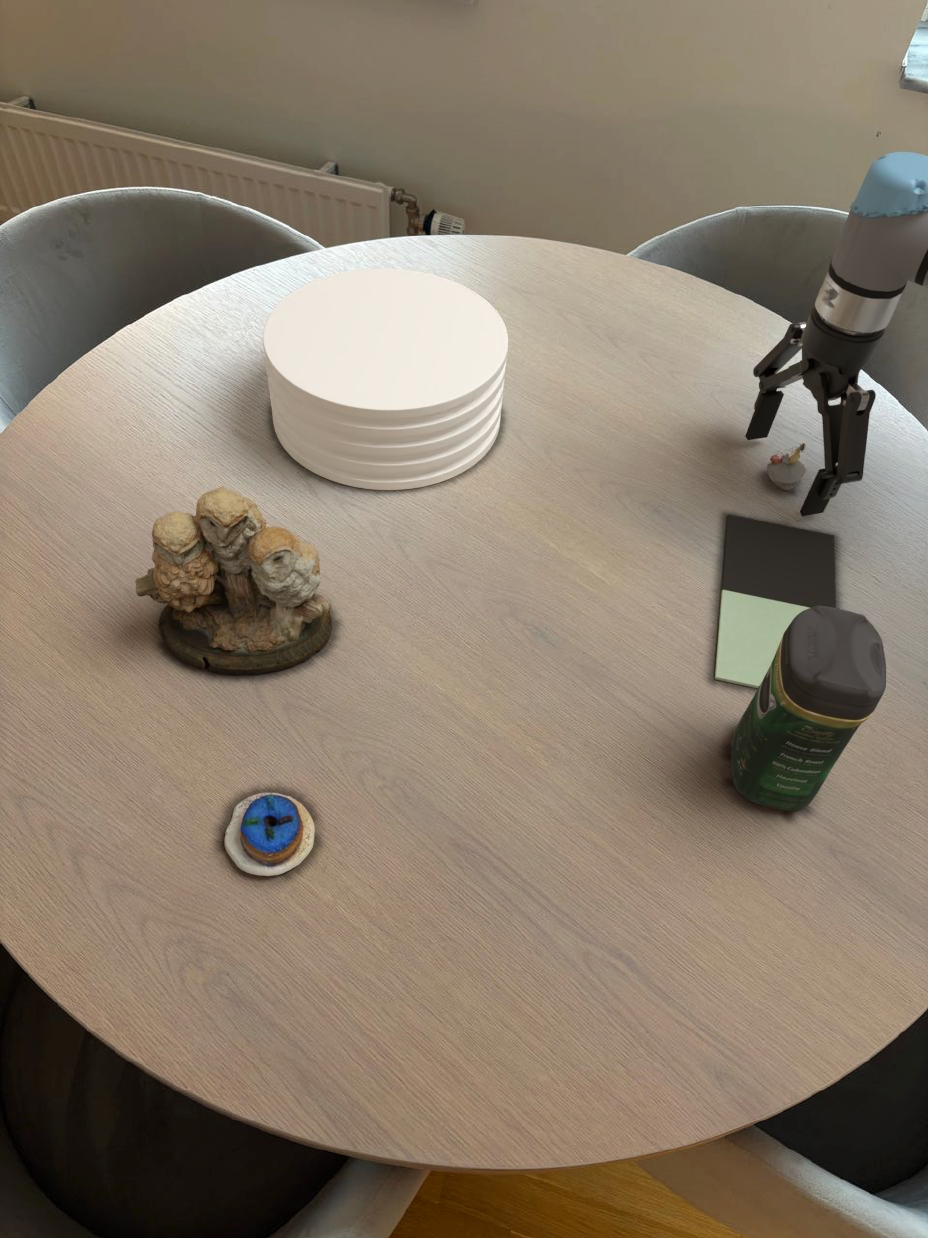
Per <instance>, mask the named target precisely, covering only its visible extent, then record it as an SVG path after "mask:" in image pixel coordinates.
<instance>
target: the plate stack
mask: <svg viewBox="0 0 928 1238" xmlns="http://www.w3.org/2000/svg"><path fill="white" fill-rule="evenodd" d="M262 342H263V343H262V344H263V351H264V357H265V359H264V360H265V367H266V373H267V383H268V390H269V401H270V407H271V414H272V424H273V429H274V432H275V434H276V437H277V439H278V441H279V443H280V444H281V446H282V447H283V449H284V450H285V451H286V452H287V454H288V455H289V456H290V457H291V458H292V459H293V460H295V462H297V463H298V464H299V465H300V466H302V467H304V468H305V469H307V470H309V471H310V472H311V473H313V474H316V475H317V476H320V477H322V478H324V479H327V480H329V481H331V482H335V483H338V484H341V485H345V486H349V487H354V488H359V489H364V490H373V491H374V490H375V491H402V490H411V489H419V488H423V487H429V486H432V485H436V484H439V483H441V482H445V481H448V480H451V479H453V478H455V477H458V476H459V475H461V474H462V473H464V472H466V471H468V470H469V469H471V468H472V467H473V466H475V465H476V464H477V463H478V462H480V461H481V460H482V459H483V458H484V457H485V456H486V455H487V454H488V452H489V451H490V450H491V449H492V447H493V445H494V443H495V442H496V439H497V437H498V434H499V431H500V425H501V418H502V417H501V416H502V407H503V399H504V398H503V396H504V387H505V376H506V369H507V358H508V352H509V351H508V350H509V334H508V329H507V327H506V324H505V322H504V320H503V318H502V316H501V315H500V313H499V312H498V311H497V309H496V308H494V306H493V305H492V304H491V303H490V302H489V301H487V299H485V298H484V297H483V296H481V295H480V294H478V293H477V292H475V291H474V290H473V289H470V288H468V287H467V286H465V285H463V284H461V283H459V282H456V281H453V280H451V279H449V278H446V277H442V276H439V275H436V274H432V273H427V272H422V271H417V270H412V269H411V270H410V269H402V268H391V267H390V268H389V267H388V268H386V267H385V268H383V267H381V268H380V267H378V268H377V267H376V268H362V269H353V270H347V271H341V272H337V273H332V274H329V275H326V276H323V277H319V278H317V279H314V280H311V281H310V282H307V283H305V284H303V285H301V286H299V287H297V288H296V289H294V290H293V291H291V292H290V293H287V295H286V296H284V297H283V298H282V299H281V300H279V302H278V303H277V304H276V305H275V306H274V307H273V309H272V310H271V312H270V313H269V315H268V317H267V318H266V321H265V324H264V327H263V332H262Z"/></svg>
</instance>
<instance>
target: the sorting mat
mask: <svg viewBox="0 0 928 1238" xmlns="http://www.w3.org/2000/svg"><path fill="white" fill-rule="evenodd" d="M726 517H727V519H726V529H725V531H726V532H725V542H724V546H725V547H724V554H723V555H724V558H723V568H722V569H723V570H722V579H721V580H722V581H721V592H720V593H721V594H720V605H719V606H720V607H719V619H718V620H719V621H718V633H717V646H716V656H715V671H714V680H717V681H721V682H727V683H731V684H735V685H739V686H745V687H749V688H753V689H758V688H759V686H760V684H761V682H762V680H763V679H764V677H765V675H766V673H767V671H768V669H769V667H770V665H771V663H772V661H773V659H774V656H775V654H776V651H777V649H778V646H779V644H780V641H781V639H782V636H783V634H784V632H785V631H786V629H787V628H788V626H789V625H790V623H791V622H792V620H793V619H794V618H795V617H796V616H797V615H798V614H799V613H801V612H802V611H804V610H806V609H809V608H812V607H815V606H827V607H833V608H837V597H836V596H837V595H836V593H837V592H836V558H835V557H836V556H835V555H836V554H835V535H834V534H830V533H825V532H821V531H820V532H819V531H815V530H809V529H803V528H799V527H794V526H789V525H785V524H779V523H775V522H769V521H764V520H759V519H754V518H749V517H744V516H740V515H735V514H731V513H730V514H728V515H727V516H726Z"/></svg>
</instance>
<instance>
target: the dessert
mask: <svg viewBox="0 0 928 1238" xmlns="http://www.w3.org/2000/svg"><path fill="white" fill-rule="evenodd" d="M315 831H316V829H315V822H314V820H313V817H312V816H311V814H310V812H309V811H308V810H307V808H306V807H305V806H304V805H303V804H302V803H301V802H300V801H298V800H297V799H295V798H293V797H292V796H291V795H285V794H283V793H278V792H259V793H256V794H252V795H250V796H248V797H246V798H245V799H243V800H242V801H240V802H239V803H237V804H236V805H235V807H234V808H233V811H232V816H231V819H230V822H229V824H228V825H227V827H226V830H225V834H224V841H223V842H224V848H225V851H226V853H227V854H228V856H229V857H230V858H231V860H232V861H233V862H234V864H235V866H236V867H237V868H239V869H240V870H241V871H243V872H245V873H247V874H251V875H255V876H264V877H265V876H266V877H270V876H278V875H283V874H284V873H286V872H288V871H291V870H292V869H293V868H296V867H297V866H300V864H301V863H302V862H303V861H304V860H305V859H306V858H307V857H308V855H309V854H310V852H311V851H312V849H313V848H314V844H315Z"/></svg>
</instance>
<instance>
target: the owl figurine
mask: <svg viewBox="0 0 928 1238" xmlns="http://www.w3.org/2000/svg"><path fill="white" fill-rule="evenodd" d="M262 515H263V514H262V512H261V511H260V510H259V509H258V505H257V503H256V502H255V501H254V499H251V498H249V497H246V496H243V495H242V494H241V493H238V492H236V491H235V490H233V489H228V488H227V487H225V486H220V487H217V488H214V489H211V490H209V491H207V492H205V493H203V494H202V495H201V496H200V497H199V498H198V500H197V502H196V508H195V515H193V514H191V513H190V512H181V511H172V512H168V513H166V514H164V515H161V516H160V517H158V518H157V519H155V521H154V523H153V525H152V530H151V537H152V540H151V541H152V547H153V551H152V555H151V560H152V563H153V564H154V567H152V568H151V567H150V568H149V569H147V573H146V574H145V575H144V576H141V577H138V578H136V579H135V581H134V583H135V585H136V586H135V593H136V595H137V596H138V597H145V596H148V597H150V598H151V599H152V600H153V601H154V602H156V603H159V604H164V605H165V604H166V605H165V606H164V608H163V609H162V611H161V613H160V616H159V618H158V631H159V635H160V637H161V640H162V641H163V643H164V645H165V646H166V648H167V649H168V650H169V651H170V652H171V653H172V655H174V656H175V657H176V658H178V659H179V660H180V661H182V662H184V663H186V664H188V665H192V666H195V667H196V668H199V669H202V670H203V669H204V668H205V667H206V663H205V661H204V659H203V658H205V659H206V661H207V662H208V664H209V665H208V666H207V667H208V670H210V671H211V672H215V673H217V674H225V675H226V674H227V675H259V674H265V673H271V672H277V671H282V670H285V669H288V668H289V669H290V668H292V667H294V666H297V665H299V664H300V663H303V662H306V661H308V660H309V659H310V658H311V657H312V656H313V655H315V653H316V652H317V651H318V652H320V651H322V650H323V649H324V648H325V646H326V645H327V644H328V642H329V640H330V638H331V635H332V632H333V617H332V613H331V611H330V610H331V609H332V604H331V602H330V601H329V600H327V599H326V598H324V597H321V596H320V595H318V594H316V592H317V590H318V588H319V586H321V585H320V584H321V575H320V572H321V571H320V570H321V567H320V562H321V561H320V557H319V551H318V550H317V548H316V547H315V546H314V545H313V544H311V543H310V542H307V541H303V540H302V539H301V538H300V536H298V535H297V534H295V533H294V534H293V533H292V532H291V531H290V530H288V529H287V528H286V527H285V528H284V527H281V526H268V527H267V521H266V518H264V517H263V516H262Z"/></svg>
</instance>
